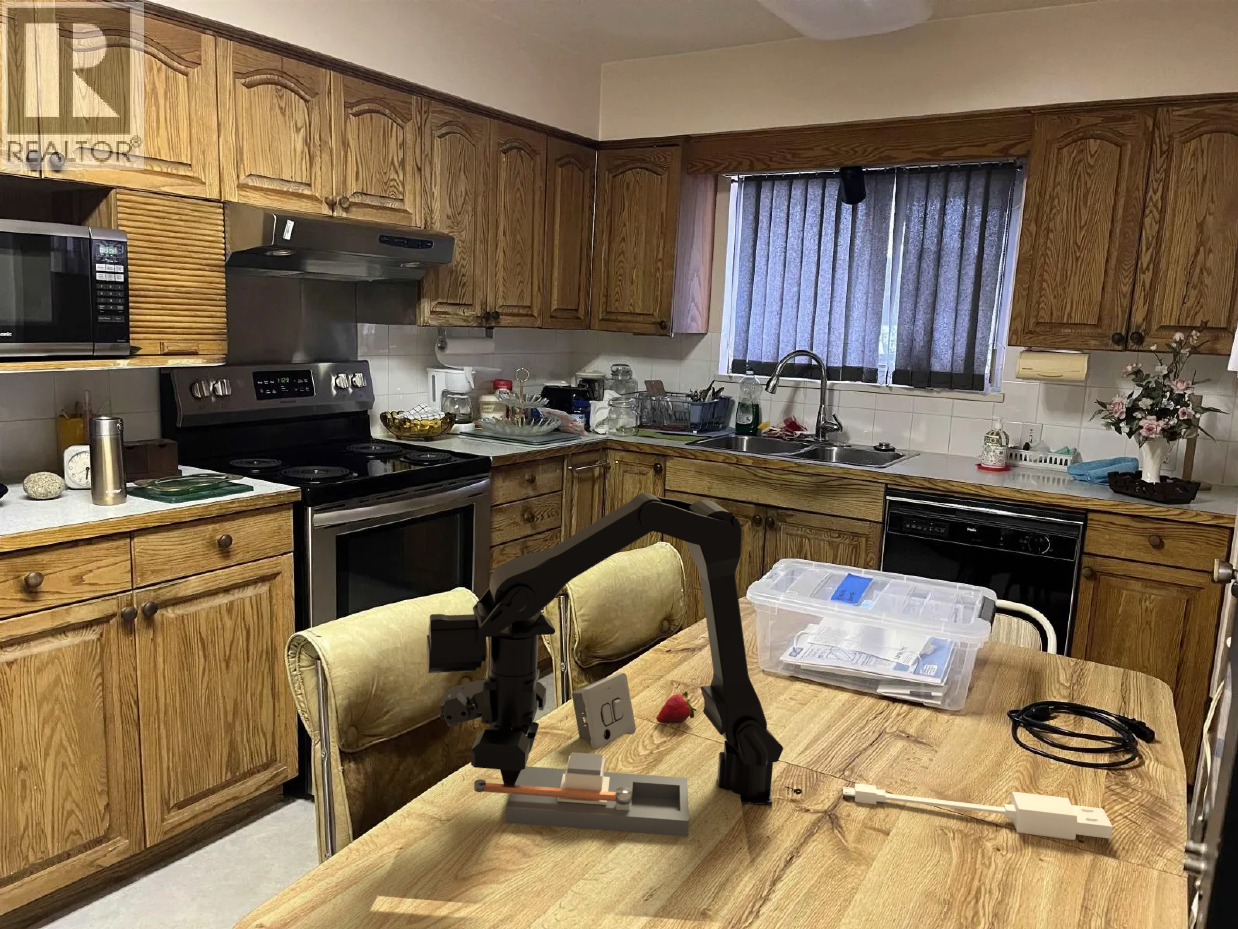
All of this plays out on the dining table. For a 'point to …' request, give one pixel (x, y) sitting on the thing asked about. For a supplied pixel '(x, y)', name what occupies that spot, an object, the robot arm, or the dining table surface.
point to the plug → (585, 776)
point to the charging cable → (1015, 812)
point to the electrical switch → (604, 710)
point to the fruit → (676, 709)
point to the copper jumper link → (556, 792)
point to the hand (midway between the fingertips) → (509, 786)
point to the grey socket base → (650, 810)
